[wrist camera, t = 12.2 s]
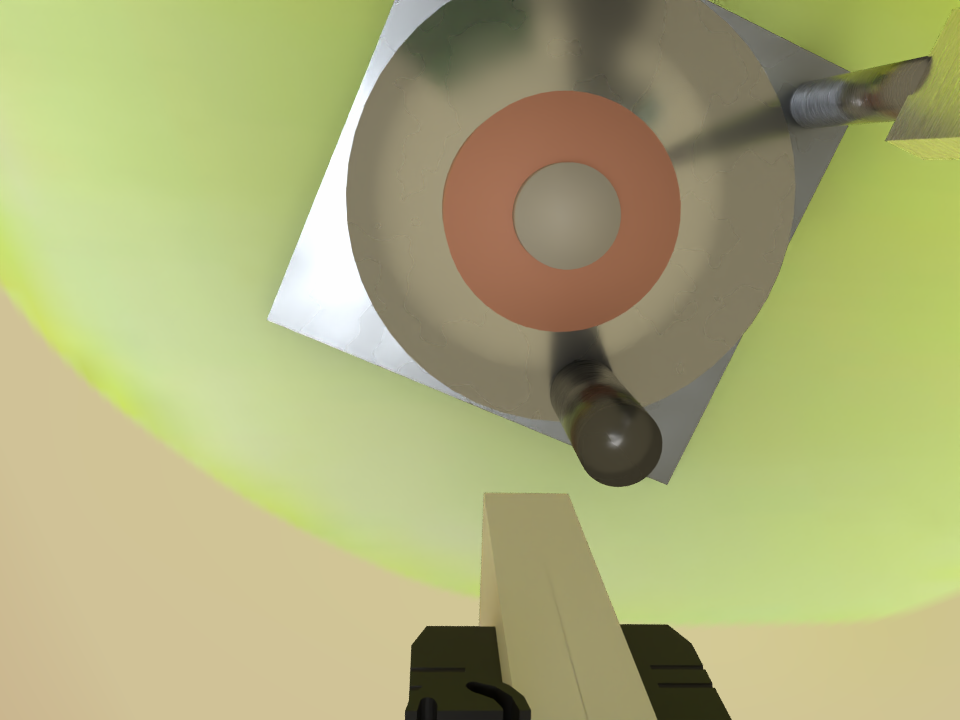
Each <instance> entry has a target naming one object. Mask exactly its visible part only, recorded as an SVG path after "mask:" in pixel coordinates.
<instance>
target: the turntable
mask: <svg viewBox="0 0 960 720" xmlns="http://www.w3.org/2000/svg"><path fill="white" fill-rule="evenodd" d="M552 91H578V92H586V93H591V94H594V95H598V96H602V97H604V98H607V99H609V100H612V101H614V102H616V103H618V104H620V105H622V106H623V107H625V108H627V109H628V110H630V111H631V112H633V113H634V114H635V115H636V116H638V117H639V118H640V119H641V120H643V121H644V122H645V123H646V125H647V126H648V127H649V128H650V129H651V130H652V131H653V132H654V133H655V135H656V136H657V137H658V139H659V140H660V142H661V143H662V144H663V146H664V148H665V150H666V152H667V153H668V155H669V157H670V159H671V162H672V165H673V167H674V170H675V173H676V176H677V181H678V185H679V190H680V201H681V216H680V226H679V232H678V237H677V241H676V244H675V247H674V251H673V253H672V255H671V258H670V260H669V262H668V264H667V266H666V268H665V270H664V271H663V273H662V275H661V276H660V278H659V280H658V281H657V282H656V283H655V285H654V286H653V287H652V289H651V290H650V291H649V292H648V293H647V294H646V295H645V296H644V297H643V298H642V299H641V300H640V301H639V302H638V303H637V304H635V305H634V306H633V307H631V308H630V309H629V310H628V311H626V312H624V313H623V314H621V315H619V316H618V317H616V318H614V319H612V320H610V321H608V322H605V323H603V324H601V325H598V326H594V327H591V328H588V329H583V330H577V331H570V332H551V331H542V330H537V329H532V328H528V327H525V326H522V325H519V324H517V323H514V322H512V321H510V320H508V319H506V318H504V317H502V316H501V315H499V314H497V313H496V312H494V311H493V310H492V309H490V308H489V307H488V306H486V305H485V304H484V303H483V302H482V301H481V300H480V299H479V298H478V297H477V296H476V295H475V294H474V293H473V292H472V291H471V289H470V288H469V287H468V286H467V284H466V283H465V281H464V280H463V278H462V277H461V275H460V273H459V272H458V270H457V268H456V265H455V263H454V261H453V259H452V256H451V253H450V250H449V247H448V243H447V239H446V235H445V232H444V225H443V219H442V199H443V190H444V185H445V181H446V177H447V174H448V171H449V169H450V166H451V164H452V161H453V159H454V158H455V156H456V154H457V152H458V150H459V149H460V147H461V146H462V145H463V143H464V142H465V140H466V139H467V138H468V137H469V136H470V135H471V133H472V132H473V131H474V130H475V129H476V128H477V127H478V126H480V125H481V124H482V123H483V122H485V121H486V120H487V119H488V118H490V117H491V116H492V115H494V114H495V113H496V112H498V111H500V110H501V109H503V108H505V107H506V106H508V105H509V104H512V103H514V102H516V101H518V100H521V99H523V98H525V97H529V96H532V95H536V94H539V93H545V92H552ZM794 202H795V170H794V156H793V150H792V145H791V140H790V135H789V130H788V126H787V123H786V120H785V117H784V114H783V111H782V108H781V105H780V102H779V99H778V97H777V95H776V92H775V90H774V88H773V86H772V84H771V82H770V80H769V78H768V76H767V74H766V72H765V70H764V69H763V67H762V66H761V64H760V63H759V61H758V60H757V58H756V57H755V56H754V54H753V53H752V51H751V50H750V48H749V47H748V45H747V44H746V43H745V42H744V41H743V40H742V39H741V37H740V36H739V35H738V34H737V33H736V32H735V31H734V30H733V29H732V27H731V26H730V25H729V24H728V23H727V22H726V21H725V20H723V19H722V18H721V17H720V16H719V15H717V14H716V13H715V12H714V11H713V10H712V9H710V8H709V7H708V6H707V5H706V4H704V3H703V2H701V1H700V0H451V1H449V2H448V3H446V4H444V5H443V6H442V7H441V8H439V9H438V10H437V11H436V12H435V13H433V14H432V15H431V16H430V17H429V18H427V19H426V20H425V21H424V22H423V23H421V24H420V25H419V26H418V27H417V28H416V29H415V30H414V32H413V33H412V34H411V35H410V36H409V37H408V38H407V39H406V40H405V41H404V42H403V44H402V45H401V46H400V47H399V48H398V49H397V51H396V52H395V53H394V55H393V56H392V58H391V59H390V61H389V62H388V64H387V65H386V66H385V68H384V69H383V71H382V72H381V74H380V75H379V77H378V79H377V81H376V83H375V85H374V87H373V89H372V91H371V93H370V95H369V97H368V98H367V100H366V102H365V105H364V108H363V111H362V113H361V116H360V119H359V122H358V125H357V127H356V130H355V133H354V138H353V143H352V147H351V152H350V157H349V161H348V171H347V183H346V210H347V226H348V231H349V237H350V242H351V248H352V253H353V256H354V260H355V263H356V266H357V269H358V272H359V275H360V279H361V282H362V284H363V286H364V288H365V290H366V292H367V294H368V297H369V299H370V301H371V303H372V305H373V307H374V309H375V311H376V312H377V314H378V315H379V317H380V319H381V320H382V322H383V323H384V325H385V326H386V328H387V330H388V331H389V333H390V334H391V335H392V336H393V337H394V339H395V340H396V341H397V342H398V343H399V345H400V346H401V347H402V348H403V349H404V351H405V352H406V353H407V354H408V355H409V356H410V357H411V358H412V359H413V360H414V361H415V362H417V363H418V364H419V365H420V366H421V367H422V368H423V369H424V370H425V371H426V372H427V373H429V374H430V375H431V376H433V377H434V378H436V379H437V380H438V381H440V382H441V383H443V384H444V385H446V386H447V387H448V388H450V389H451V390H453V391H455V392H457V393H459V394H460V395H462V396H464V397H466V398H468V399H470V400H472V401H474V402H476V403H478V404H481V405H483V406H486V407H489V408H492V409H494V410H497V411H500V412H502V413H506V414H511V415H515V416H520V417H524V418H528V419H536V420H547V421H557V422H560V423H561V425H562V427H563V429H564V431H565V432H566V434H567V436H568V438H569V440H570V442H571V444H572V446H573V448H574V450H575V452H576V454H577V456H578V458H579V460H580V462H581V464H582V466H583V467H584V469H585V471H586V472H587V473H588V474H589V475H590V476H591V477H592V478H593V479H595V480H596V481H598V482H600V483H602V484H605V485H608V486H614V487H623V486H629V485H632V484H635V483H637V482H639V481H641V480H643V479H644V478H645V477H647V476H648V475H649V474H650V473H651V472H652V471H653V470H654V468H655V467H656V465H657V464H658V461H659V459H660V456H661V453H662V444H663V442H662V435H661V432H660V429H659V427H658V425H657V423H656V422H655V421H654V419H653V418H652V417H651V416H650V415H649V414H648V412H647V411H646V410H645V409H644V408H643V407H645V406H647V405H650V404H652V403H654V402H657V401H659V400H661V399H664V398H666V397H668V396H669V395H671V394H673V393H675V392H676V391H678V390H680V389H681V388H683V387H685V386H687V385H688V384H690V383H691V382H693V381H694V380H695V379H697V378H698V377H699V376H701V375H702V374H703V373H705V372H706V371H707V370H708V369H710V368H711V367H712V366H714V365H715V364H716V363H717V362H718V361H719V360H720V359H721V358H722V357H723V356H724V355H725V354H726V353H727V352H728V351H729V350H730V349H731V348H732V347H733V346H734V345H735V344H736V342H737V341H738V340H739V339H740V337H741V336H742V335H743V334H744V332H745V331H746V330H747V329H748V327H749V326H750V325H751V324H752V322H753V321H754V319H755V317H756V316H757V314H758V313H759V311H760V309H761V308H762V306H763V304H764V303H765V301H766V300H767V298H768V296H769V293H770V291H771V289H772V287H773V285H774V283H775V280H776V278H777V276H778V274H779V272H780V268H781V265H782V262H783V259H784V256H785V253H786V250H787V246H788V243H789V237H790V232H791V227H792V221H793V216H794Z"/></svg>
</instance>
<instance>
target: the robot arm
mask: <svg viewBox="0 0 960 720" xmlns="http://www.w3.org/2000/svg"><path fill="white" fill-rule="evenodd" d="M405 720H731V718H730V716H729V714H728V712H727V710H726V708H725V706H724V704H723V703H722V701H721V699H720V697H719V695H718V693H717V691H716V689H715V688H713V687H712V682H711V680H710V678H709V676H708V674H707V672H706V670H703V665H702V663H701V661H700V659H699V657H698V655H697V653H696V651H695V649H694V647H693V646H692V644H691V643H690V642H689V641H688V640H686V639H685V638H684V637H682V636H681V635H680V634H679V633H678V632H676V631H675V630H674V629H673V628H671V627H670V626H669V625H647V624H619V622H618V619H617V616H616V614H615V611H614V609H613V606H612V604H611V601H610V599H609V596H608V594H607V591H606V589H605V586H604V584H603V581H602V579H601V576H600V573H599V571H598V568H597V566H596V563H595V561H594V558H593V556H592V553H591V551H590V548H589V546H588V543H587V541H586V538H585V536H584V533H583V530H582V528H581V525H580V523H579V520H578V518H577V515H576V513H575V510H574V508H573V505H572V503H571V500H570V498H569V495H568V494H557V493H484V500H483V528H482V556H481V583H480V612H479V626H427V627H426V628H425V629H424V630H423V632H422V633H421V634H420V635H419V637H418V638H417V639H416V640H415V642H414V643H413V644H412V646H411V668H410V691H409V702H408V705H407V707H406V710H405Z"/></svg>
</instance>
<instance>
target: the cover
mask: <svg viewBox="0 0 960 720" xmlns="http://www.w3.org/2000/svg"><path fill="white" fill-rule="evenodd" d="M680 216H681V201H680V190H679V185H678V181H677V176H676V173H675V170H674V167H673V165H672V162H671V159H670V157H669V155H668V153H667V152H666V150H665V148H664V146H663V144H662V143H661V142H660V140H659V139H658V137H657V136H656V135H655V133H654V132H653V131H652V130H651V129H650V128H649V127H648V126H647V125H646V123H645V122H644V121H643V120H641V119H640V118H639V117H638V116H636V115H635V114H634V113H633V112H631V111H630V110H628V109H627V108H625V107H623V106H622V105H620V104H618V103H616V102H614V101H612V100H609V99H607V98H604V97H602V96H598V95H594V94H591V93H586V92H578V91H552V92H545V93H539V94H536V95H532V96H529V97H525V98H523V99H521V100H518V101H516V102H514V103H512V104H509V105H508V106H506V107H505V108H503V109H501V110H500V111H498V112H496V113H495V114H494V115H492V116H491V117H490V118H488V119H487V120H486V121H485V122H483V123H482V124H481V125H480V126H478V127H477V128H476V129H475V130H474V131H473V132H472V133H471V135H470V136H469V137H468V138H467V139H466V140H465V142H464V143H463V145H462V146H461V147H460V149H459V150H458V152H457V154H456V156H455V158H454V159H453V161H452V164H451V166H450V169H449V171H448V174H447V177H446V181H445V185H444V190H443V199H442V219H443V225H444V232H445V235H446V239H447V243H448V247H449V250H450V253H451V256H452V259H453V261H454V263H455V265H456V268H457V270H458V272H459V273H460V275H461V277H462V278H463V280H464V281H465V283H466V284H467V286H468V287H469V288H470V289H471V291H472V292H473V293H474V294H475V295H476V296H477V297H478V298H479V299H480V300H481V301H482V302H483V303H484V304H485V305H486V306H488V307H489V308H490V309H492V310H493V311H494V312H496V313H497V314H499V315H501V316H502V317H504V318H506V319H508V320H510V321H512V322H514V323H517V324H519V325H522V326H525V327H528V328H532V329H537V330H542V331H551V332H570V331H577V330H583V329H588V328H591V327H594V326H598V325H601V324H603V323H605V322H608V321H610V320H612V319H614V318H616V317H618V316H619V315H621V314H623V313H624V312H626V311H628V310H629V309H630V308H631V307H633V306H634V305H635V304H637V303H638V302H639V301H640V300H641V299H642V298H643V297H644V296H645V295H646V294H647V293H648V292H649V291H650V290H651V289H652V287H653V286H654V285H655V283H656V282H657V281H658V280H659V278H660V276H661V275H662V273H663V271H664V270H665V268H666V266H667V264H668V262H669V260H670V258H671V255H672V253H673V251H674V247H675V244H676V241H677V237H678V232H679V226H680Z"/></svg>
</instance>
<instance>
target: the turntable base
mask: <svg viewBox="0 0 960 720" xmlns="http://www.w3.org/2000/svg"><path fill="white" fill-rule="evenodd" d="M449 1H451V0H395V1H394V3H393V6H392V8H391V11H390V13H389V16H388V18H387V21H386V23H385V26H384V28H383V31H382V33H381V36H380V38H379V41H378V43H377V46H376V48H375V51H374V53H373V56H372V58H371V61H370V63H369V66H368V68H367V71H366V73H365V76H364V78H363V81H362V83H361V86H360V88H359V91H358V93H357V96H356V98H355V101H354V103H353V106H352V108H351V111H350V113H349V116H348V118H347V121H346V123H345V126H344V128H343V131H342V133H341V136H340V138H339V141H338V143H337V146H336V148H335V151H334V153H333V156H332V158H331V161H330V163H329V166H328V168H327V171H326V173H325V176H324V178H323V181H322V183H321V186H320V188H319V191H318V193H317V196H316V198H315V201H314V203H313V206H312V208H311V211H310V213H309V216H308V218H307V221H306V223H305V226H304V228H303V231H302V233H301V236H300V238H299V241H298V243H297V246H296V248H295V251H294V253H293V256H292V258H291V261H290V263H289V266H288V268H287V270H286V273H285V275H284V278H283V280H282V283H281V285H280V288H279V290H278V293H277V295H276V298H275V300H274V303H273V305H272V308H271V310H270V313H269V315H268V318H267V320H268V321H271V322H273V323H276V324H278V325H281V326H283V327H285V328H288V329H290V330H293V331H295V332H298V333H300V334H302V335H305V336H307V337H310V338H312V339H315V340H317V341H319V342H322V343H324V344H327V345H329V346H331V347H334V348H336V349H339V350H341V351H344V352H346V353H348V354H351V355H353V356H356V357H358V358H361V359H363V360H365V361H368V362H370V363H373V364H375V365H378V366H380V367H382V368H385V369H387V370H390V371H392V372H395V373H397V374H399V375H402V376H404V377H407V378H409V379H411V380H414V381H416V382H419V383H421V384H424V385H426V386H428V387H431V388H433V389H436V390H438V391H441V392H443V393H445V394H448V395H450V396H453V397H455V398H458V399H460V400H462V401H465V402H467V403H470V404H472V405H475V406H477V407H479V408H482V409H484V410H487V411H489V412H492V413H494V414H496V415H499V416H501V417H504V418H506V419H508V420H511V421H513V422H516V423H518V424H521V425H523V426H525V427H528V428H530V429H533V430H535V431H538V432H540V433H542V434H545V435H547V436H550V437H552V438H555V439H557V440H559V441H562V442H564V443H567V444H569V445H572V444H571V442H570V440H569V438H568V436H567V434H566V432H565V431H564V429H563V427H562V425H561V423H560V422H557V421H547V420H536V419H528V418H524V417H520V416H515V415H511V414H506V413H502V412H500V411H497V410H494V409H492V408H489V407H486V406H483V405H481V404H478V403H476V402H474V401H472V400H470V399H468V398H466V397H464V396H462V395H460V394H459V393H457V392H455V391H453V390H451V389H450V388H448V387H447V386H446V385H444V384H443V383H441V382H440V381H438V380H437V379H436V378H434V377H433V376H431V375H430V374H429V373H427V372H426V371H425V370H424V369H423V368H422V367H421V366H420V365H419V364H418V363H417V362H415V361H414V360H413V359H412V358H411V357H410V356H409V355H408V354H407V353H406V352H405V351H404V349H403V348H402V347H401V346H400V345H399V343H398V342H397V341H396V340H395V339H394V337H393V336H392V335H391V334H390V333H389V331H388V330H387V328H386V326H385V325H384V323H383V322H382V320H381V319H380V317H379V315H378V314H377V312H376V311H375V309H374V307H373V305H372V303H371V301H370V299H369V297H368V294H367V292H366V290H365V288H364V286H363V284H362V282H361V279H360V275H359V272H358V269H357V266H356V263H355V260H354V256H353V253H352V248H351V242H350V237H349V231H348V226H347V210H346V183H347V171H348V161H349V157H350V152H351V147H352V143H353V138H354V133H355V130H356V127H357V125H358V122H359V119H360V116H361V113H362V111H363V108H364V105H365V102H366V100H367V98H368V97H369V95H370V93H371V91H372V89H373V87H374V85H375V83H376V81H377V79H378V77H379V75H380V74H381V72H382V71H383V69H384V68H385V66H386V65H387V64H388V62H389V61H390V59H391V58H392V56H393V55H394V53H395V52H396V51H397V49H398V48H399V47H400V46H401V45H402V44H403V42H404V41H405V40H406V39H407V38H408V37H409V36H410V35H411V34H412V33H413V32H414V30H415V29H416V28H417V27H418V26H419V25H420V24H421V23H423V22H424V21H425V20H426V19H427V18H429V17H430V16H431V15H432V14H433V13H435V12H436V11H437V10H438V9H439V8H441V7H442V6H443V5H444V4H446V3H448V2H449ZM700 1H701V2H703V3H704V4H706V5H707V6H708V7H709V8H710V9H712V10H713V11H714V12H715V13H716V14H717V15H719V16H720V17H721V18H722V19H723V20H725V21H726V22H727V23H728V24H729V25H730V26H731V27H732V29H733V30H734V31H735V32H736V33H737V34H738V35H739V36H740V37H741V39H742V40H743V41H744V42H745V43H746V44H747V45H748V47H749V48H750V50H751V51H752V53H753V54H754V56H755V57H756V58H757V60H758V61H759V63H760V64H761V66H762V67H763V69H764V70H765V72H766V74H767V76H768V78H769V80H770V82H771V84H772V86H773V88H774V90H775V92H776V95H777V97H778V99H779V102H780V105H781V108H782V111H783V114H784V117H785V120H786V123H787V126H788V130H789V135H790V140H791V145H792V150H793V156H794V170H795V202H794V216H793V221H792V227H791V232H790V237H789V242H790V240H791V238H792V236H793V234H794V232H795V230H796V228H797V226H798V224H799V222H800V220H801V218H802V216H803V214H804V212H805V210H806V208H807V206H808V204H809V202H810V200H811V198H812V197H813V195H814V193H815V191H816V189H817V187H818V185H819V183H820V181H821V179H822V177H823V175H824V173H825V171H826V169H827V167H828V165H829V163H830V161H831V159H832V157H833V155H834V153H835V151H836V149H837V147H838V145H839V143H840V141H841V139H842V137H843V135H844V133H845V131H846V129H847V127H848V125H855V124H866V123H878V122H889V121H895V122H894V124H893V126H892V128H891V130H890V132H889V134H888V136H887V138H886V140H885V141H886V142H888V143H890V144H893V145H895V146H897V147H899V148H901V149H903V150H905V151H907V152H909V153H911V154H913V155H915V156H917V157H919V158H921V159H923V160H929V159H960V7H959V8H956V9H952V11H951V13H950V15H949V17H948V19H947V21H946V23H945V25H944V27H943V29H942V30H941V32H940V34H939V36H938V38H937V40H936V42H935V44H934V46H933V48H932V50H931V52H930V54H929V56H925V57H920V58H916V59H911V60H906V61H902V62H897V63H892V64H888V65H883V66H878V67H874V68H869V69H864V70H859V71H855V72H849V71H847V70H845V69H843V68H841V67H839V66H837V65H835V64H833V63H831V62H829V61H827V60H825V59H823V58H821V57H819V56H817V55H815V54H813V53H811V52H809V51H807V50H805V49H803V48H801V47H799V46H797V45H795V44H793V43H791V42H789V41H787V40H786V39H784V38H782V37H780V36H778V35H776V34H774V33H772V32H770V31H768V30H766V29H764V28H762V27H760V26H758V25H756V24H754V23H752V22H750V21H748V20H746V19H744V18H742V17H740V16H738V15H736V14H734V13H732V12H730V11H728V10H726V9H724V8H722V7H720V6H718V5H716V4H714V3H712V2H710V1H708V0H700ZM788 244H789V243H788ZM741 337H742V336H741ZM741 337H740V339H741ZM740 339H739V340H738V341H737V342H736V344H735V345H734V346H733V347H732V348H731V349H730V350H729V351H728V352H727V353H726V354H725V355H724V356H723V357H722V358H721V359H720V360H719V361H718V362H717V363H716V364H715V365H714V366H712V367H711V368H710V369H708V370H707V371H706V372H705V373H703V374H702V375H701V376H699V377H698V378H697V379H695V380H694V381H693V382H691V383H690V384H688V385H687V386H685V387H683V388H681V389H680V390H678V391H676V392H675V393H673V394H671V395H669V396H668V397H666V398H664V399H661V400H659V401H657V402H654V403H652V404H650V405H647V406H645V407H643V408H644V409H645V410H646V411H647V412H648V414H649V415H650V416H651V417H652V418H653V419H654V421H655V422H656V423H657V425H658V427H659V429H660V432H661V435H662V442H663V444H662V453H661V456H660V459H659V461H658V464H657V465H656V467H655V468H654V470H653V471H652V472H651V473H650V474H649V475H648V476H647V477H649V478H652V479H654V480H656V481H659V482H661V483H664V484H666V485H667V484H668V482H669V480H670V478H671V476H672V474H673V472H674V470H675V468H676V466H677V464H678V462H679V460H680V458H681V456H682V454H683V452H684V450H685V448H686V446H687V445H688V443H689V441H690V439H691V437H692V435H693V433H694V431H695V429H696V427H697V425H698V423H699V421H700V419H701V417H702V415H703V413H704V411H705V409H706V407H707V405H708V403H709V401H710V399H711V397H712V395H713V393H714V391H715V389H716V387H717V385H718V383H719V381H720V379H721V377H722V375H723V373H724V371H725V369H726V367H727V365H728V363H729V361H730V359H731V357H732V355H733V353H734V351H735V349H736V347H737V345H738V343H739V341H740Z"/></svg>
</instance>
